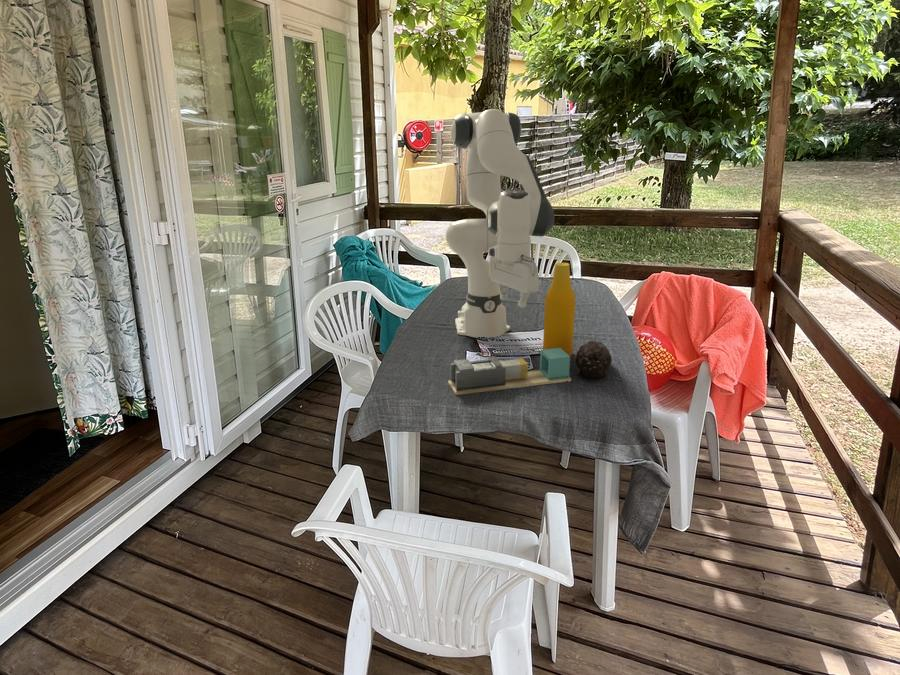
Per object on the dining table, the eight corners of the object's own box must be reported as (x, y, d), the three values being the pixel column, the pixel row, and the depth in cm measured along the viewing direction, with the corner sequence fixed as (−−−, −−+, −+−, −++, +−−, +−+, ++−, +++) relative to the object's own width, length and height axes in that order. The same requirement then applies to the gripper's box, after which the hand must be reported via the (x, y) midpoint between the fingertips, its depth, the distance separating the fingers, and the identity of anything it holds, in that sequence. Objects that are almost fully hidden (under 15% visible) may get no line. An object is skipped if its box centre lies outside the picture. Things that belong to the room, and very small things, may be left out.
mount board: (448, 383, 179) (448, 380, 179) (559, 370, 187) (559, 367, 186) (455, 394, 172) (455, 392, 171) (571, 381, 179) (571, 378, 179)
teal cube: (539, 373, 185) (540, 349, 182) (558, 371, 186) (559, 347, 183) (549, 382, 178) (550, 358, 176) (568, 380, 180) (570, 356, 177)
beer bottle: (545, 360, 194) (549, 268, 184) (540, 349, 203) (544, 260, 193) (575, 359, 194) (581, 267, 184) (569, 348, 203) (574, 260, 193)
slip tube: (454, 379, 177) (454, 365, 175) (522, 371, 181) (522, 358, 180) (458, 385, 173) (458, 371, 172) (527, 377, 178) (527, 363, 176)
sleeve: (450, 381, 178) (450, 360, 176) (497, 375, 181) (497, 355, 179) (456, 391, 172) (456, 370, 170) (505, 385, 175) (505, 364, 173)
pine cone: (607, 360, 194) (609, 329, 190) (611, 384, 177) (614, 351, 174) (572, 359, 195) (574, 328, 192) (574, 382, 179) (576, 349, 175)
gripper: (545, 257, 160) (544, 310, 164) (504, 246, 178) (504, 294, 182) (524, 259, 157) (523, 313, 161) (485, 248, 175) (484, 297, 179)
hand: (512, 303), depth 172 cm, fingers open, 8 cm apart
